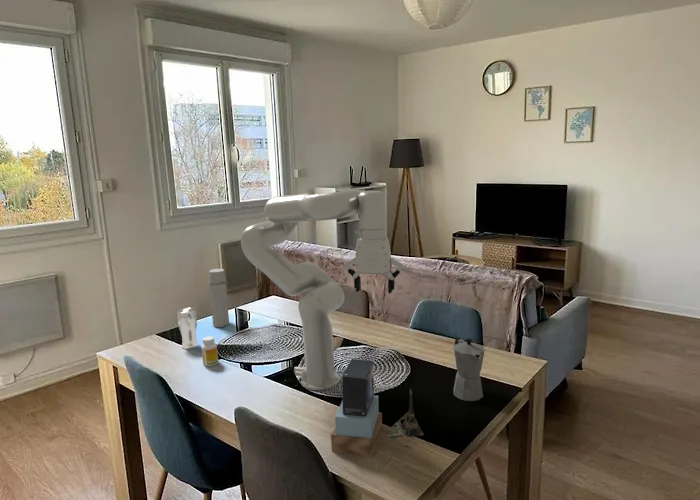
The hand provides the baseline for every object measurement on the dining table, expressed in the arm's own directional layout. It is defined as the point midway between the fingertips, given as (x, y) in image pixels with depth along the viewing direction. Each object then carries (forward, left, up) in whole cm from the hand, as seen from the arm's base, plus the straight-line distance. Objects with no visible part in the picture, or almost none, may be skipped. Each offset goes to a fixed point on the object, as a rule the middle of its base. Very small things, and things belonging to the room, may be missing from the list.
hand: (374, 291), depth 143 cm
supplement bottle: (-64, +11, -34) cm, 73 cm away
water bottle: (-81, +49, -34) cm, 100 cm away
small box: (0, -23, -24) cm, 34 cm away
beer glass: (-81, +24, -34) cm, 91 cm away
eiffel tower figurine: (+13, -16, -34) cm, 40 cm away
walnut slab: (0, -24, -34) cm, 41 cm away
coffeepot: (+27, +7, -34) cm, 43 cm away
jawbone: (-28, +33, -34) cm, 55 cm away
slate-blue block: (0, -24, -29) cm, 37 cm away
